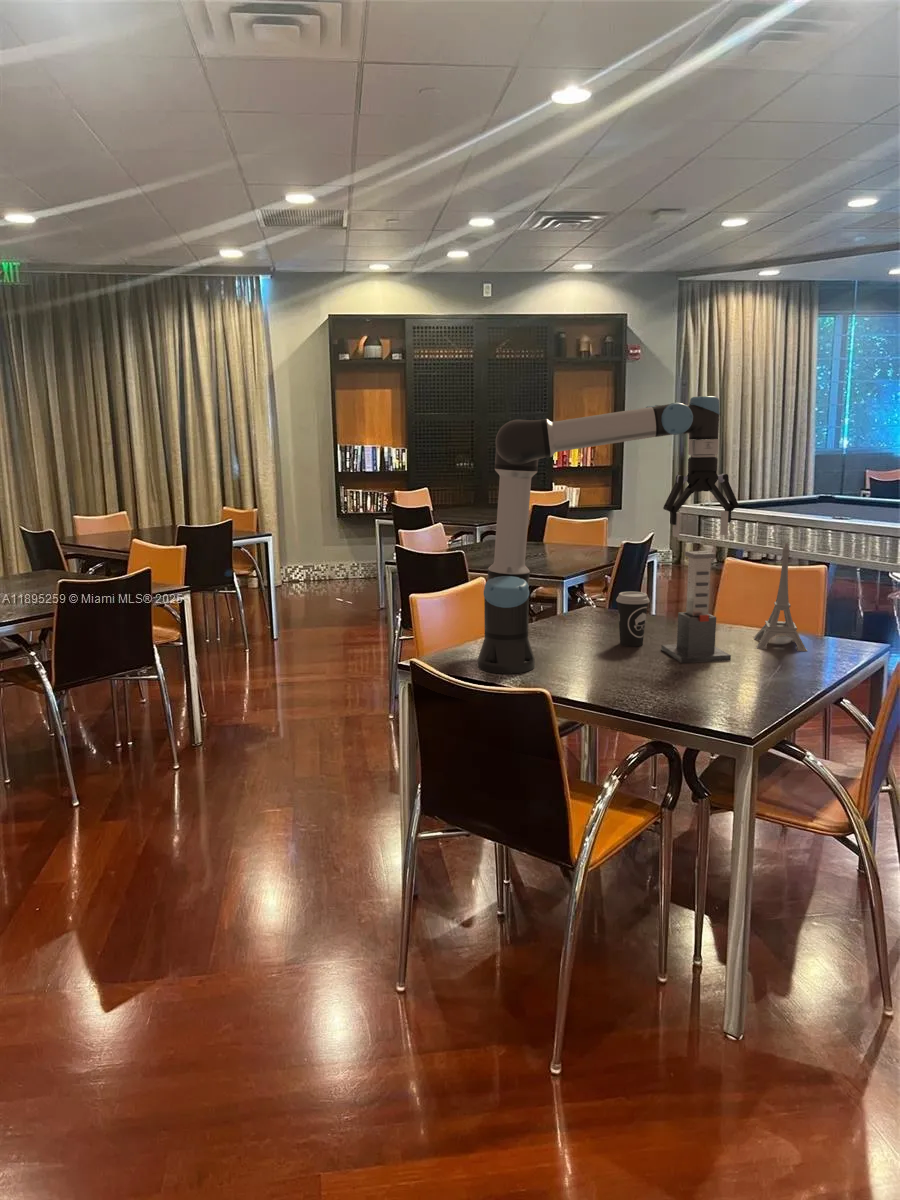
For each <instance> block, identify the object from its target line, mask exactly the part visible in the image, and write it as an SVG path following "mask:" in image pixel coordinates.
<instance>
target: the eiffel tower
mask: <svg viewBox="0 0 900 1200" xmlns="http://www.w3.org/2000/svg"><path fill="white" fill-rule="evenodd" d="M781 555H782V561H781V562H782V563H781V571H780V577H779V584H778V590H777V594H776V595H777V596H776V601H774V602H773V604H774V607H773V609H772V612H771V613H770V615H769V617H768V620H764V622H765V624H764V625H763V626H762V627H761V629H760V630H759V631H758V632H757V633H756V634H755V635H754V636H753V640H754V641H758V642H759V643H757V644H756V646H755V647H756V649H758V650H767V649H768V643H769V642H770V640H771V639H772V638H774V637H775V636H778V635H785V636H788V637H790V638H791V639H790V640H791V642H792V643H795V645H796V648H795V650H796V651H797V652H808V649H807V648H806V647H805V644H804V642H803V640H802V639H801V637H800V635H799V633H798V631H797V630H798V627H797V626H796V623H795V622H794V620H793V618H792V614H791V610H790V608H791V603H790V600H789V556H790V555H791V553H790V548H789V543H788V542H784V546H783V548H782V552H781ZM781 611H783V615H784V616H783V617H784V621H779V617H780V614H781Z"/></svg>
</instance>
